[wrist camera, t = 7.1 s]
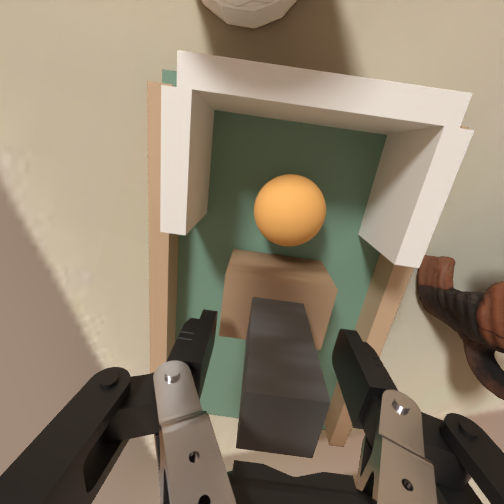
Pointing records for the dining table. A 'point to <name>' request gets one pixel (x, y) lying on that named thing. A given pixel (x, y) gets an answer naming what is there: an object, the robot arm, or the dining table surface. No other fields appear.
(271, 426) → the striker
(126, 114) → the dining table surface
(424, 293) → the pottery mug
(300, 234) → the ball
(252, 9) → the white cup
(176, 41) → the dining table surface
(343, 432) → the pitch
